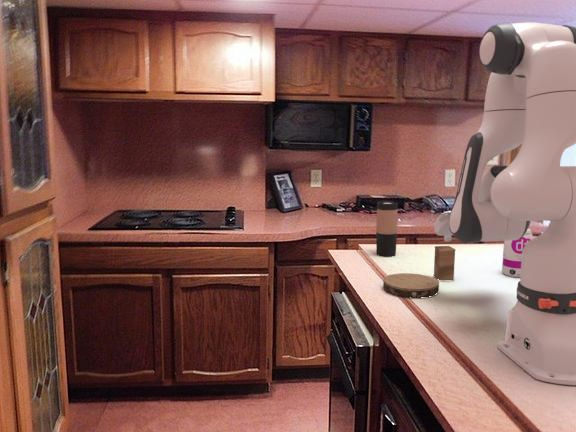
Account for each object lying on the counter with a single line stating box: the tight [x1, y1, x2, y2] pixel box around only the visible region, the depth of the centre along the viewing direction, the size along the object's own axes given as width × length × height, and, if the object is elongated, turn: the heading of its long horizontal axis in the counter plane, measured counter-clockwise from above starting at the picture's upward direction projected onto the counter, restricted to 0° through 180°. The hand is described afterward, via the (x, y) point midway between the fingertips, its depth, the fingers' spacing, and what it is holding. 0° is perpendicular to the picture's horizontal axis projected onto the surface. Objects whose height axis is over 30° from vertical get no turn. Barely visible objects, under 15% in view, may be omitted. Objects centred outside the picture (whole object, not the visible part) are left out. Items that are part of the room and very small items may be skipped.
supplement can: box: [501, 228, 534, 279], centre depth 161 cm, size 8×8×15 cm
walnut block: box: [433, 245, 456, 281], centre depth 158 cm, size 5×5×10 cm
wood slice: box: [382, 272, 440, 299], centre depth 148 cm, size 16×16×3 cm
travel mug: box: [375, 200, 399, 258], centre depth 188 cm, size 8×8×20 cm
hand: (462, 239), depth 144 cm, fingers open, 8 cm apart
